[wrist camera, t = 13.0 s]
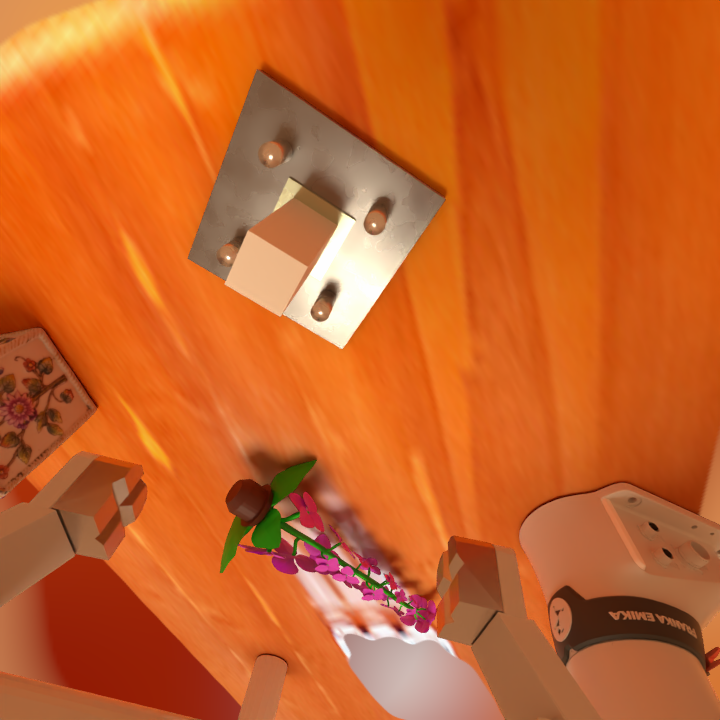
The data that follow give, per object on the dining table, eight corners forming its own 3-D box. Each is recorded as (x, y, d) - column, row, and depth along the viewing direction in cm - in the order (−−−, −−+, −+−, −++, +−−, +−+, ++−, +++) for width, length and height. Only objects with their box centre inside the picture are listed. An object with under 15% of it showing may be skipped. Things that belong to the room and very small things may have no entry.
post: (337, 225, 34) (307, 266, 25) (315, 266, 36) (280, 316, 27) (293, 197, 33) (248, 230, 24) (273, 240, 35) (224, 284, 26)
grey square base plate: (445, 197, 33) (447, 208, 29) (344, 344, 41) (336, 365, 37) (261, 70, 30) (240, 65, 26) (192, 255, 38) (170, 269, 35)
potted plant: (277, 417, 52) (449, 546, 65) (188, 517, 52) (379, 627, 65) (290, 461, 41) (496, 607, 54) (177, 590, 40) (412, 706, 53)
